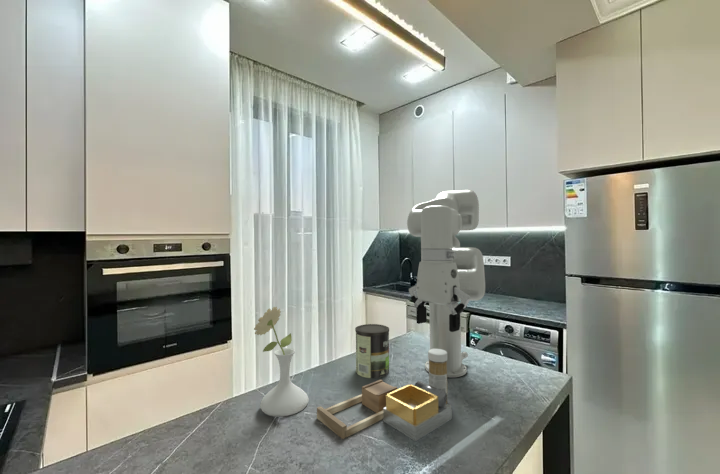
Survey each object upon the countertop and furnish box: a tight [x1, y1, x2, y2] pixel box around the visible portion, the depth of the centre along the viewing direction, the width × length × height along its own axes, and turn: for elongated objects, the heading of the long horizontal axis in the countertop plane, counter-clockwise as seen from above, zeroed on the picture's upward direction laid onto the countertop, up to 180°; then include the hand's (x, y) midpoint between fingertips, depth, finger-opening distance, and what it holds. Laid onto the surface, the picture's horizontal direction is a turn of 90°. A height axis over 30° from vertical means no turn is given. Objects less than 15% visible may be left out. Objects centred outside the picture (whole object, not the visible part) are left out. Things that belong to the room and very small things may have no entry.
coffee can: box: [354, 323, 390, 379], centre depth 95 cm, size 10×10×14 cm
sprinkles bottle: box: [427, 348, 448, 404], centre depth 76 cm, size 5×5×14 cm
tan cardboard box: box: [361, 378, 398, 414], centre depth 75 cm, size 6×6×4 cm
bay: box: [316, 393, 384, 440], centre depth 72 cm, size 18×10×4 cm, turn 130°
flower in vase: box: [253, 306, 310, 418], centre depth 75 cm, size 13×11×25 cm
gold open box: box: [383, 380, 452, 442], centre depth 69 cm, size 12×9×7 cm
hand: (437, 326), depth 77 cm, fingers open, 9 cm apart
